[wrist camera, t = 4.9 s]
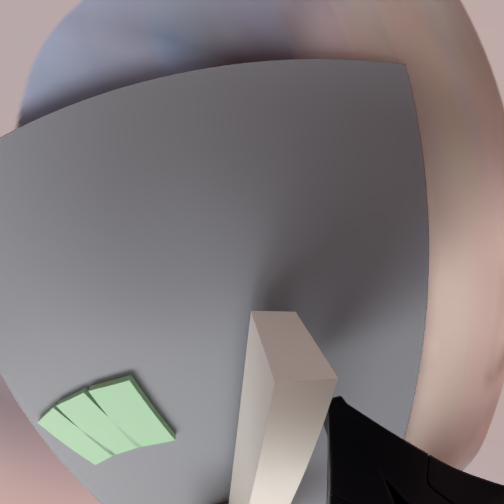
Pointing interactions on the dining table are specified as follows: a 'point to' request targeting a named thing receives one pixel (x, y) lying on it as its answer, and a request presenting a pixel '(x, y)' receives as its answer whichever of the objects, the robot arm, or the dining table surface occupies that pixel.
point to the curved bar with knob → (278, 408)
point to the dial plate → (209, 263)
